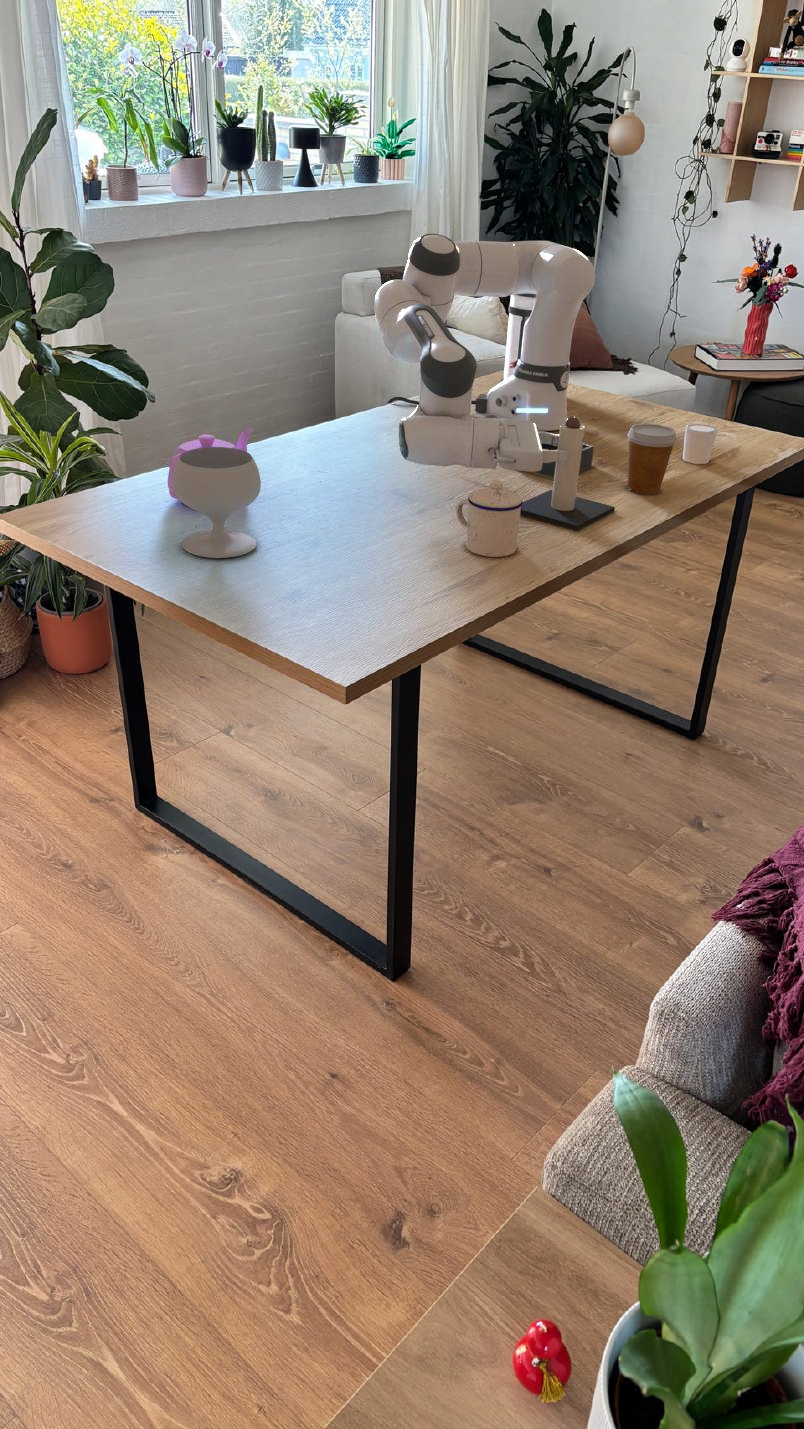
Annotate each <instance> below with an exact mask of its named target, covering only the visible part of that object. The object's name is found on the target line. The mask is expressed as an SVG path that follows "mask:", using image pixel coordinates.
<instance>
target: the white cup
mask: <svg viewBox="0 0 804 1429" xmlns="http://www.w3.org/2000/svg"><path fill="white" fill-rule="evenodd" d="M718 430H719V429H718V428H716V427H715V426H711V425H707V424H701V423H700V424H699V423H695V424H694V423H692V424H691V423H690V424H686V425H685V427H684V439H683V449H682V450H683V451H682V461H683V462H686V463H689V464H694V465H706V464H709V463H710V459H711V456H712V452H713V449H714V445H715V442H716V438H717V434H718Z"/></svg>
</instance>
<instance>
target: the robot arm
mask: <svg viewBox="0 0 804 1429" xmlns="http://www.w3.org/2000/svg"><path fill="white" fill-rule="evenodd" d="M408 252H409V253H408V255H407V256H408V260H407V262H406V265H405V268H404V271H403V275H402V279H391V280H389V281H387V282H385V283H384V284H382V285H381V286H380V287H379V288H378V289H377V292H376V294H375V297H374V301H373V308H374V309H373V310H374V315H375V320H376V325H377V328H378V331H379V334H380V336H381V339H382V341H383V343H384V346H385V348H386V350H387V351H388V353H389V354H390V355H391V356H392V357H393V358H394V359H395V360H396V361H398V362H400V363H403V364H418V363H419V374H420V380H419V384H420V385H419V400H414V399H410V398H406V397H403V396H394V397H392V398H389V399H388V400H387V402H386V403H387V404H392V403H393V402H396V401H400V402H404V403H408V404H411V405H417V406H416V408H415V409H414V411H413V412H412V413H411V414H410V415H409V416H407V417H402V418H401V419H400V422H399V425H398V440H399V442H398V444H399V445H398V446H399V450H400V453H401V456H402V457H403V459H404V460H405V461H408V462H410V463H414V464H417V465H424V466H433V467H450V466H456V465H457V466H462V467H464V468H468V469H470V468H471V469H486V470H487V469H488V470H495V469H497V465H499V467H500V468H502V469H505V470H511V471H520V472H531V473H537V471H541V469H542V463H550V462H555V461H566V460H567V455H568V453H567V450H565V449H557V450H548V449H542V446H541V444H542V443H543V444H551V445H552V446H558V440H559V433H552V432H548V431H560V425H561V424H565V421H566V420H567V418H568V410H567V409H568V408H567V407H568V406H567V389H568V387H569V380H570V374H571V373H570V372H571V371H570V370H571V362H570V355H571V348H572V339H573V333H574V327H575V324H576V320H577V317H578V315H579V312H580V309H581V307H582V304H583V301H584V300H585V299H586V297H588V295H590V293H591V291H592V290H593V288H594V285H595V282H596V272H595V270H596V269H595V267H594V265H593V263H592V262H591V260H590V259H589V258H588V257H587V256H586V255H585V254H584V253H582V252H581V251H580V250H577V249H575V248H572V247H569V246H566V245H563V244H560V243H557V242H553V241H550V240H519V241H518V240H517V241H487V240H454V241H453V240H452V239H450V238H449V237H448V236H445V235H442V234H439V233H426V234H423V235H421V236H419V237H418V238H416V239H415V240H414V241H413V243H412V245H411V247H410V249H409V251H408ZM516 294H536V300H535V304H534V307H533V310H532V313H531V315H530V317H529V319H528V320H527V321H526V322H525V324H524V329H523V339H522V350H521V358H520V359H518V360H516V361H515V362H512V363H510V364H512V365H511V366H510V368H512V367H514V371H513V373H512V375H511V376H509V377H508V378H506V379H505V380H503V381H502V382H501V381H499V383H497V384H495V385H494V386H493V387H492V388H490V390H489V391H488V392H487V394H484V393H480V394H479V395H478V396H477V397H476V398H475V400H473V390H474V383H475V378H476V372H477V367H478V364H477V360H476V357H475V356H474V355H473V353H472V352H471V350H469V349H468V348H467V347H465V346H464V345H463V344H461V343H460V342H459V341H458V340H457V339H456V337H454V336H453V334H452V333H451V331H450V330H449V328H448V326H447V319H448V317H449V314H450V311H451V309H452V307H453V306H452V305H453V303H454V298H455V296H462V297H488V298H489V297H491V298H492V297H493V298H506V297H508V296H511V295H516ZM472 405H475V408H474V417H471V412H472V411H471V410H472Z"/></svg>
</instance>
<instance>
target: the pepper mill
mask: <svg viewBox="0 0 804 1429" xmlns="http://www.w3.org/2000/svg"><path fill="white" fill-rule="evenodd" d="M585 429H586V427H585V426H584V425H582V422H581V419H580V418H579V417H578V416H576V415H572V416H569V417H567V420H566V421H565V424H561V425H560V430H558V431H559V432H558V434H559V440H558V449H565V450H567V453H568V455H567V460H566V461H556V466H555V474H554V477H553V484H552V490H553V491H552V500H551V507H552V508H553V509H556V510H560V511H570V510H573V509H574V508H575V501H576V497H577V493H578V492H577V491H578V485H579V476H580V471H579V469H580V462H581V454H582V446H583V444H584V438H585Z"/></svg>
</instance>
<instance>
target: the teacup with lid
mask: <svg viewBox="0 0 804 1429" xmlns="http://www.w3.org/2000/svg"><path fill="white" fill-rule="evenodd" d="M523 502H524V501H523V498H522V496H521V495H520V494H519V493H517V492H515V491H513V490H510V489H509V488H507V487H505V486H504V483H503V481H501V480H492V481H491V482H490V485H487V486H485V487H483V488H477V489H474V490H472V491H471V492H470V493H469V494H468V498H464V499H462V500H459V501H458V502H457V504H456V508H455V509H456V510H455V515H456V519H457V520H458V522H459V524H460V525H461V526H462V527H463V528H465V529H466V538H465V539H466V540H465V546H466V548H467V550H468V551H470V553H473V554H475V555H479V556H481V557H482V556H483V557H488V558H501V557H507V556H510V555H512V554H514V553H515V552H516V551H517V549H518V540H519V528H520V520H521V515H520V510H521V506H522V504H523ZM464 505H468V511H467V512H468V514H467V520H466V519H465V517H464V514H463V506H464Z"/></svg>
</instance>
